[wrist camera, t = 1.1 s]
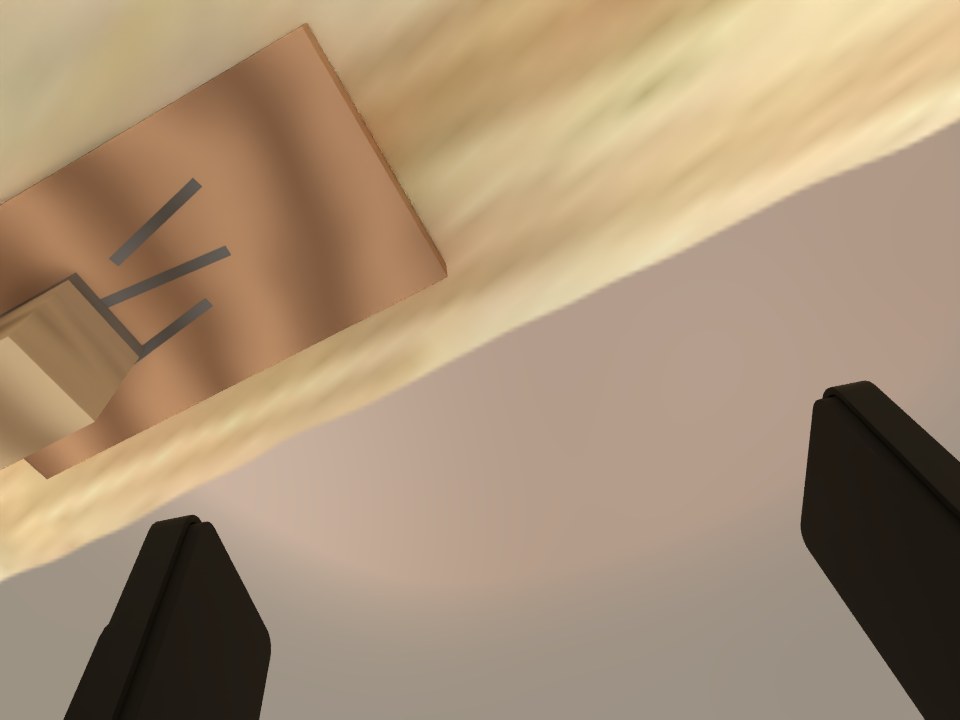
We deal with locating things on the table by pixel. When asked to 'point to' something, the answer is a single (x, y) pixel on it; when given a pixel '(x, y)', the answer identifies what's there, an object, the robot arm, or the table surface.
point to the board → (221, 236)
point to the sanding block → (58, 366)
